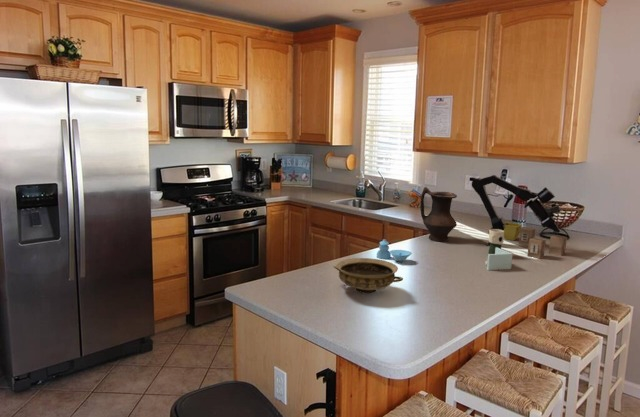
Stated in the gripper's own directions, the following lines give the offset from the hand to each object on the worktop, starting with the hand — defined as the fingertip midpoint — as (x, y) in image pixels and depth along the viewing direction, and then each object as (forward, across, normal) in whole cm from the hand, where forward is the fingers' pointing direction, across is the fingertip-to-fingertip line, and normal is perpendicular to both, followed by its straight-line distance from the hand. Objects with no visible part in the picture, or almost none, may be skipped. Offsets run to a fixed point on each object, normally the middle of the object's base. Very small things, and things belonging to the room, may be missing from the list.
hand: (559, 232), depth 253 cm
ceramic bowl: (-38, -106, +55) cm, 125 cm away
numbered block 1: (-3, +13, +19) cm, 23 cm away
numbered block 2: (+1, -13, +15) cm, 20 cm away
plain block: (+8, 0, +8) cm, 12 cm away
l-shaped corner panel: (-10, -43, +28) cm, 52 cm away
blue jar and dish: (-42, -58, +58) cm, 92 cm away
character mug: (-12, -22, +28) cm, 38 cm away
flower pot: (-9, +21, +26) cm, 34 cm away
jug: (-36, -4, +52) cm, 64 cm away
